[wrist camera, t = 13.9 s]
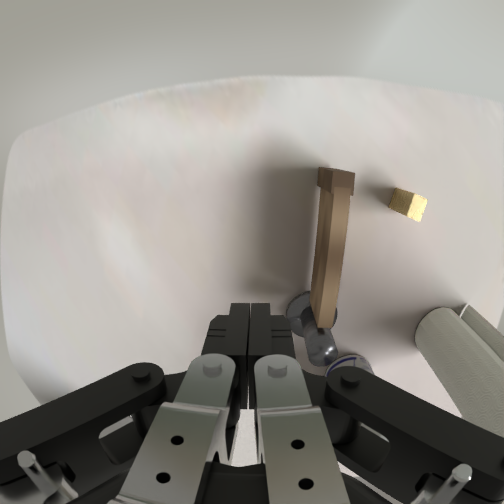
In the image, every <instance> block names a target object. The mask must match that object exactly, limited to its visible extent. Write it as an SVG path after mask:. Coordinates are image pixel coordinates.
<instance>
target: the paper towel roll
mask: <svg viewBox="0 0 504 504" xmlns="http://www.w3.org/2000/svg"><path fill="white" fill-rule="evenodd" d="M415 343H416V345H417V348H418V349H419V351H420V352H421V354H422V355H423V356H424V358H425V359H426V361H427V362H428V364H429V365H430V367H431V368H432V370H433V371H434V373H435V374H436V376H437V377H438V379H439V380H440V382H441V383H442V385H443V386H444V388H445V389H446V391H447V392H448V394H449V395H450V397H451V399H452V400H453V402H454V403H455V405H456V406H457V408H458V410H459V411H460V413H461V415H462V416H463V418H464V419H465V420H466V421H468V422H470V423H472V424H474V425H477V426H479V427H481V428H483V429H485V430H488V431H490V432H492V433H494V434H497V435H499V436H501V437H503V438H504V336H503V335H502V334H501V333H500V332H499V331H498V330H497V329H496V328H494V327H493V326H492V325H491V324H490V323H489V322H488V321H487V320H486V319H485V318H484V317H482V316H481V315H480V314H479V313H478V312H477V311H476V310H475V309H473V308H472V307H471V306H470V305H468V307H467V308H466V309H465V311H464V313H463V315H462V316H461V318H460V317H459V316H458V315H457V314H456V313H455V312H454V311H453V310H452V309H450V308H445V307H441V308H438V309H434V310H433V311H431V312H430V313H428V314H427V315H426V316H425V317H424V318H423V319H422V321H421V322H420V323H419V325H418V327H417V330H416V332H415Z"/></svg>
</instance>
